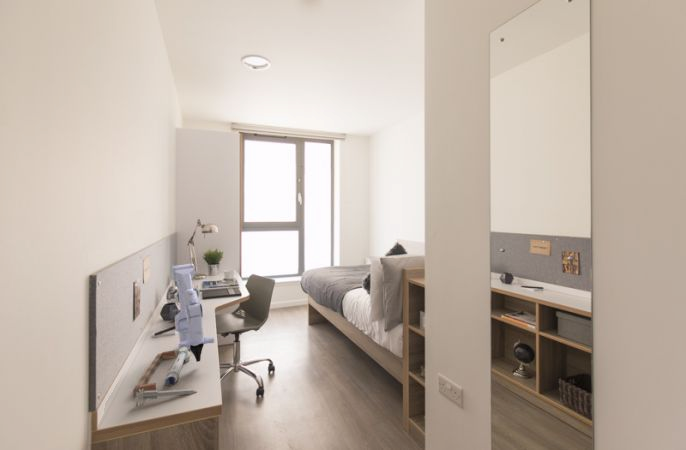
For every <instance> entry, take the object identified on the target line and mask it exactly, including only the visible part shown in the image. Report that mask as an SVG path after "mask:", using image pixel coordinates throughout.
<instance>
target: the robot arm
mask: <svg viewBox="0 0 686 450" xmlns="http://www.w3.org/2000/svg"><path fill="white" fill-rule="evenodd" d="M170 273H171V278H172V281H173V282H177V289H178V293H179V301H180V303H179V310H180V312H179V313H178V314H177V315H176V316H175V319H174V326H175V327H174V328H175V331H176V332H177V333H178V334H179V335H178V336H179V342H178V349H177V351H178V352H179V350H180V349H181V348H182V347H186V348H187V349H188V351H189V350H190V351H191V352H190V353H192V355H194V358H195V361H196V363H197V362H201V358H202V357H201V356H202V351H203V348H204V345H205V344H207V345H208V344H215V341H216V340H215V337H204V328H203V317H202V316H201V315H203V314H204V311H203V305H202V303H201V300H199V297H198V296H197V292H196V291H195V290H193V289H194V288H193V287H194V286H193V281H192V279H193V278H194V277H195V274H196V269H195V265H194V264H193V263H187V264H186V263H185V264H180V265H172V266H171V268H170Z"/></svg>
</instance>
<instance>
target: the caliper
mask: <svg viewBox="0 0 686 450" xmlns="http://www.w3.org/2000/svg"><path fill="white" fill-rule="evenodd" d="M197 392H198V390H197V389H194V388H188V389H174V390H173V389H172V390H171V389H170V390H158V389H157V390H155V391H144V392H143V389H142V391H141V390H140V389H139V392H137V393H136V395H135V398H134V401H135V406H136V407H138V406H139V402H140V398H141V399H142V401H141V406H144V404H145V403H146V401H147V399H150V400H157V399H158V397H166V396H167V397H168V396H169V397H171V396H179V395H180V396H181V395H182V396H183V395H190V394H194V393H197Z"/></svg>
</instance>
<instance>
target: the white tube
mask: <svg viewBox="0 0 686 450" xmlns="http://www.w3.org/2000/svg"><path fill="white" fill-rule="evenodd" d="M178 350H179V349H178ZM190 356H191V352H190V351H189V350H188V349H187V348H186V347H182V348H181V349H180V350H179V351H178V355H176V359H175V361H174V363H173V365H172V366H171V368H170V371H169V372H167V374H166V378H165V381H164V382H165V385H167V386H173V385H175V384H176V382H177V381H178V379H179V378H180V376H179V375H180V372H181V370H182V367H183V364H185V363H188V361H190V359H191V357H190Z"/></svg>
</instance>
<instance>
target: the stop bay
mask: <svg viewBox="0 0 686 450" xmlns="http://www.w3.org/2000/svg"><path fill="white" fill-rule="evenodd" d="M176 357H177V354H176V350H175V349H174V350H166V351H162V352H161V353H157V355H156V356H155V357H154V358H153V360H152V361H151V363H150V365H149V366H148V367H147V369H146V370H145V371H144V374H143V375H142V376H141V378H140V379H139V381H137V383H136V385H135V386H134V387H133V396H135V397H136V393H137V392H139V389H140V390H141V391H142V389H143V392H144V391H155V390H158V389H157V382H152V383H149V381H150V380H151V378H152V376H153V375H154V374H155V372H156V370H158V367H159V365H160V364H161V362H162V361H163V360H168V359H173V358H174V359H175V358H176Z"/></svg>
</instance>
